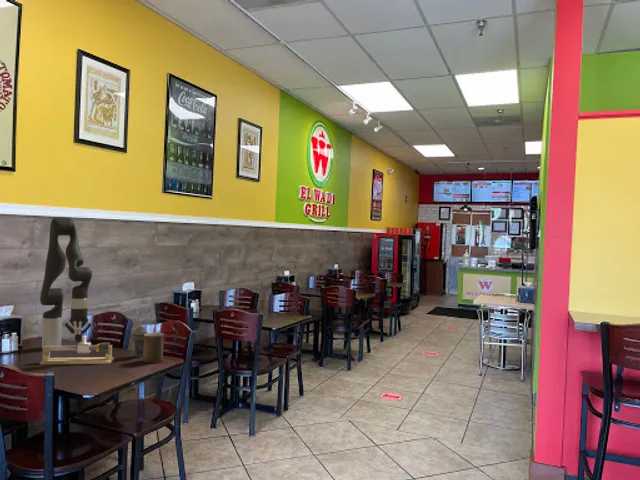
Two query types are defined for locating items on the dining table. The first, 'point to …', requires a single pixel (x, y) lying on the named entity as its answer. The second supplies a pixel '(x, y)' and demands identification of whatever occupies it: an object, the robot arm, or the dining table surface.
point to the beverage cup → (139, 340)
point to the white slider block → (83, 346)
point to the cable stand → (100, 348)
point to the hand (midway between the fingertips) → (78, 341)
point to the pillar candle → (153, 348)
